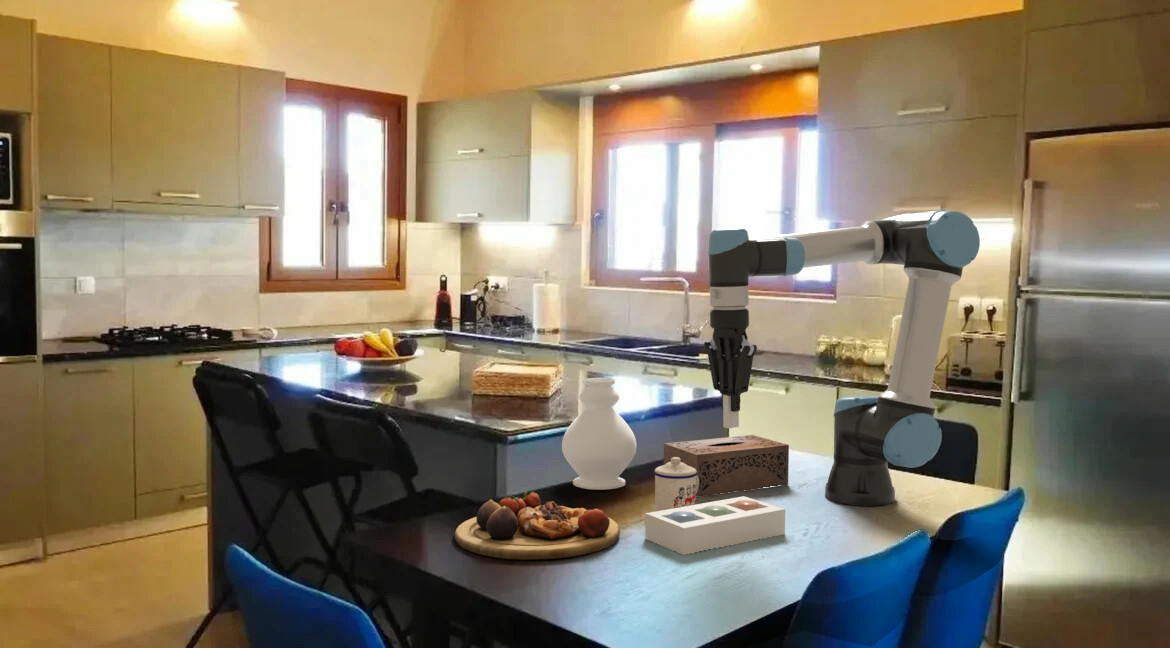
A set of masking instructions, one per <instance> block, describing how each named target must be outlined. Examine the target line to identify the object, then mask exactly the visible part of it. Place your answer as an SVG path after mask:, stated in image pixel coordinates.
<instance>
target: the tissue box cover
mask: <svg viewBox="0 0 1170 648" xmlns="http://www.w3.org/2000/svg"><path fill="white" fill-rule="evenodd" d="M789 453H790V445H789V444H787V443H783V442H780V441H776V440H772V439H769V438H766V437H761V436H759V435H754V434H750V435H749V434H747V435H739V436H725V437H718V438H717V437H716V438H708V439H707V438H706V439H696V440H689V441H688V440H687V441H677V442H676V441H674V442H666V443H663V465H665V464H666V463H668V462H671V458H673V457H679V458H680V462H682V463H685V464H686V465H687V466H690V467H693V468H695V469H696V471H697V476H698V478H699V487H698V490H697V493H696V496H702V497H706V496H705V495H710V496H714V495H713V494H717V495H721V494H720V493H725V494H729V493H728V492H733V493H735V492H734V491H741V492H745V491H744V490H749V491H752V490H751V489H757V490H759V489H758V488H763V487H770V486H778V485H787V484H788V485H789V463H790V462H789V460H790V457H789V456H790V455H789Z"/></svg>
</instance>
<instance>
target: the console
mask: <svg viewBox="0 0 1170 648" xmlns="http://www.w3.org/2000/svg"><path fill="white" fill-rule="evenodd" d="M741 500H750V501H755V502H758V503H759V509H754V510H749V511H744V510H741V509H738V508H735V502H737V501H741ZM707 506H723V507H726V508H728V514H727V515H722V516H716V517H713V516H710V515H707V514H704V507H707ZM679 511H685V512H692V513H694V514H695V521H689V522H684V523H679V522H676V521H674V520H671V513H673V512H679ZM644 515H645V517H644V518H645V519H644V521H645V523H644V524H645V525H644V530H645V531H644V532H645V533H644V534H645V535H644V537H645V538H644V540H647V541H649V540H650V541H649V542H651V541H652V542H651V543H654V544H656V543H657V545H658V544H659V545H658V546H662V547H663V548H665V549H669V550H670V551H673V552H675V551H676V552H675V553H678V554H680V555H682V556H687V555H690V553H692V554H696V553H695V552H697V553H700V552H699V551H702V552H704V551H703V550H706V551H709V550H708V549H711V550H714V549H713V548H716V549H719V547H721V548H725V546H726V547H730V546H729V545H731V546H735V545H740V544H745V543H749V541H750V542H754V540H755V541H758V539H760V540H763V539H762V538H764V539H768V538H767V537H769V538H774V537H779V536H783V535H786V530H785V529H786V508H783V507H779V506H777V505H773V504H771V503H767V502H764V501H761V500H757V499H755V498H752V497H751V498H750V497H747V496H744V495H743V496H738V497H737V496H736V497H731V498H727V499H721V500H715V501H710V502H709V501H708V502H703V503H698V504H697V503H696V505H691V506H685V507H679V508H673V509H668V510H662V511H651V512H645V514H644ZM773 536H774V537H773ZM744 542H745V543H744ZM739 543H740V544H739ZM734 544H735V545H734ZM686 554H687V555H686Z"/></svg>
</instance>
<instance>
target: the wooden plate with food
mask: <svg viewBox="0 0 1170 648" xmlns="http://www.w3.org/2000/svg"><path fill="white" fill-rule="evenodd" d="M620 534H621V528H620V526H619V524H618V523H617V522H616V521H614V519H612V518H611V517H609V516H607V515H606V513H605V511H603V509H599V508H593V509H586V508H584V507H581V508H579V507H576V508H571V507H567V506H564V505H558V504H556V503H555V501H554V500H552V501H551V500H550V501H546V502H545V504H543V505H542V504H541V498H540V496H539V494H538V493H536V492H535V491H534V490H533V491H531V490H527V491H526V492H524V493H522V494H521V497H519V496H516V497H515V495H513V496H504V497H503V498H502V499H501V500H499V501H497V502H496V501H494V500H493V499H489V500H488V501H486V502H484V503H483V504H482V505H481V506H480V508H479V509H478V511H477V513H476V516H474V517H472V518H469V519H467V520H465V521H463V522H462V523H461V524H459V525H458V526H457V527H456V529H455V532H454V539H455V541H456V543H457V544H458V546H460V547H461V548H462V549H464V550H465V551H468V552H471V553H475V554H477V555H478V554H479V555H483V556H486V557H492V558H497V559H498V558H499V559H507V560H552V559H562V558H564V559H566V558H572V557H576V556H578V557H579V556H583V555H587V554H592V553H595V552H598V551H600V550H601V551H602V550H604V549H606V548H608V547H610V546H612V545H614V544H615V543H616V542H617V541H618V539H619V537H620Z"/></svg>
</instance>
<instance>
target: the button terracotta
mask: <svg viewBox="0 0 1170 648" xmlns="http://www.w3.org/2000/svg"><path fill="white" fill-rule="evenodd" d="M735 508H738V509H741V510H744V511H749V510H754V509H759V503H758V502H755V501H750V500H741V501H737V502H735Z"/></svg>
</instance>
